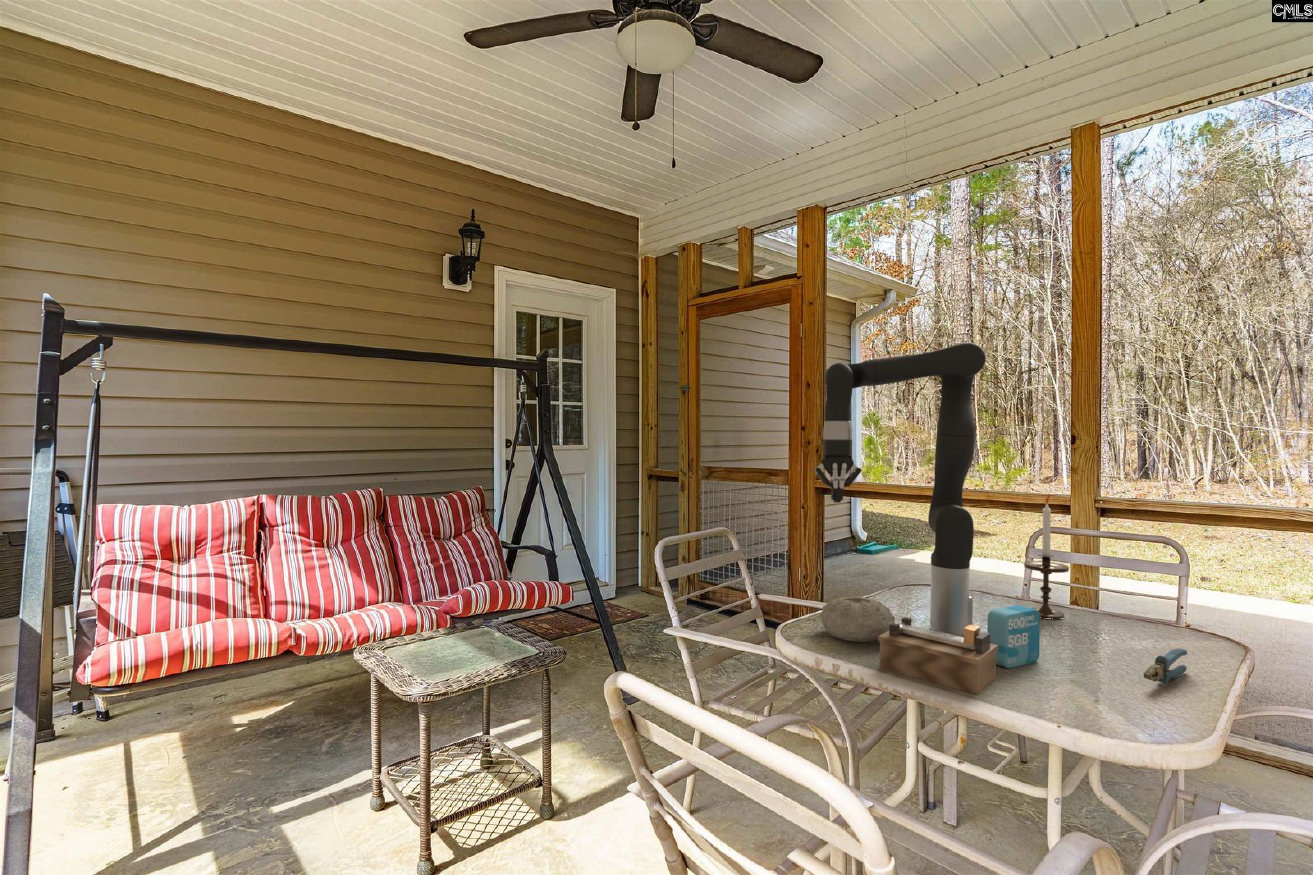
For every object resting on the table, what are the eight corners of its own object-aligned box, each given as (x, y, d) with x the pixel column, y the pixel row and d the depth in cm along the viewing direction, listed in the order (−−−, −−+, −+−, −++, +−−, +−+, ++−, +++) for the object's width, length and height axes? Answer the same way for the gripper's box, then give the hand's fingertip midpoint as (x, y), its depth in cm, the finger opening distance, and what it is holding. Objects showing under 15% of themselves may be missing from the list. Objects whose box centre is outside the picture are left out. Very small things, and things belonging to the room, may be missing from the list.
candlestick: (1077, 619, 176) (1079, 494, 176) (1044, 621, 174) (1046, 495, 174) (1046, 609, 187) (1047, 491, 187) (1014, 610, 185) (1016, 491, 184)
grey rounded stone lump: (821, 624, 171) (822, 587, 170) (891, 630, 166) (892, 592, 166) (819, 645, 153) (820, 604, 153) (897, 653, 148) (898, 610, 148)
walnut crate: (877, 667, 139) (878, 621, 139) (901, 653, 148) (902, 610, 148) (978, 695, 125) (978, 643, 125) (997, 677, 134) (998, 629, 134)
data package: (1005, 669, 138) (1005, 615, 138) (986, 663, 143) (987, 610, 142) (1039, 661, 144) (1040, 608, 144) (1020, 655, 148) (1021, 604, 148)
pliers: (1152, 694, 126) (1152, 665, 126) (1139, 691, 128) (1139, 661, 128) (1189, 674, 137) (1190, 647, 137) (1177, 671, 139) (1178, 644, 138)
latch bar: (893, 632, 141) (894, 613, 141) (901, 628, 144) (901, 609, 144) (973, 651, 129) (973, 630, 129) (979, 646, 132) (980, 626, 132)
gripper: (817, 438, 166) (816, 503, 167) (866, 438, 167) (866, 504, 167) (809, 437, 174) (809, 500, 174) (857, 438, 174) (856, 500, 174)
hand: (837, 502), depth 170 cm, fingers closed
